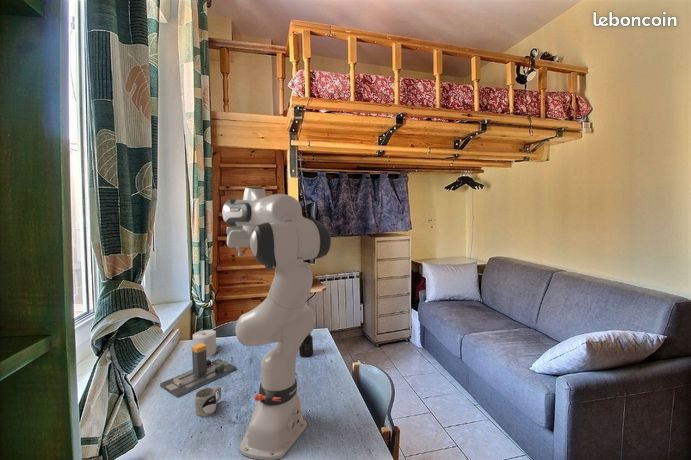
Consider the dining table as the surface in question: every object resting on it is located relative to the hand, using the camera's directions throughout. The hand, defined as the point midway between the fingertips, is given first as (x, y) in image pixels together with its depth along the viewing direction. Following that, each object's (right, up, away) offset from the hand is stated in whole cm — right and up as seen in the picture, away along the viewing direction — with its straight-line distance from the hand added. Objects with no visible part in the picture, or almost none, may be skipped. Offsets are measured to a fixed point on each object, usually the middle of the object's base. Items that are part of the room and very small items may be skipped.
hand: (251, 254), depth 133 cm
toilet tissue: (-30, -51, +23) cm, 64 cm away
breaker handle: (-22, -51, 0) cm, 55 cm away
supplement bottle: (+21, -51, +20) cm, 59 cm away
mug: (-9, -54, -21) cm, 58 cm away
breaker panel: (-22, -52, 0) cm, 57 cm away
